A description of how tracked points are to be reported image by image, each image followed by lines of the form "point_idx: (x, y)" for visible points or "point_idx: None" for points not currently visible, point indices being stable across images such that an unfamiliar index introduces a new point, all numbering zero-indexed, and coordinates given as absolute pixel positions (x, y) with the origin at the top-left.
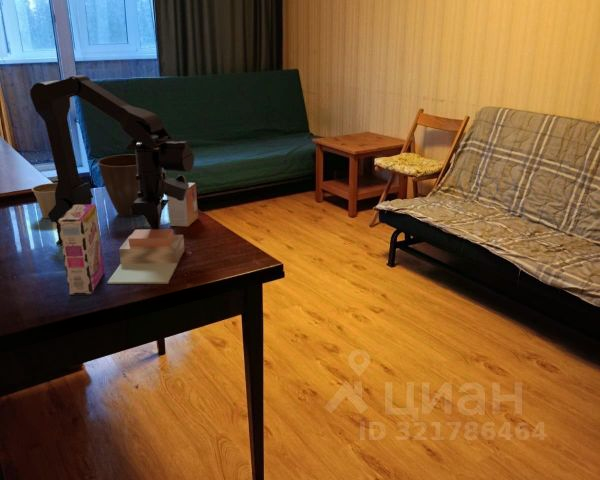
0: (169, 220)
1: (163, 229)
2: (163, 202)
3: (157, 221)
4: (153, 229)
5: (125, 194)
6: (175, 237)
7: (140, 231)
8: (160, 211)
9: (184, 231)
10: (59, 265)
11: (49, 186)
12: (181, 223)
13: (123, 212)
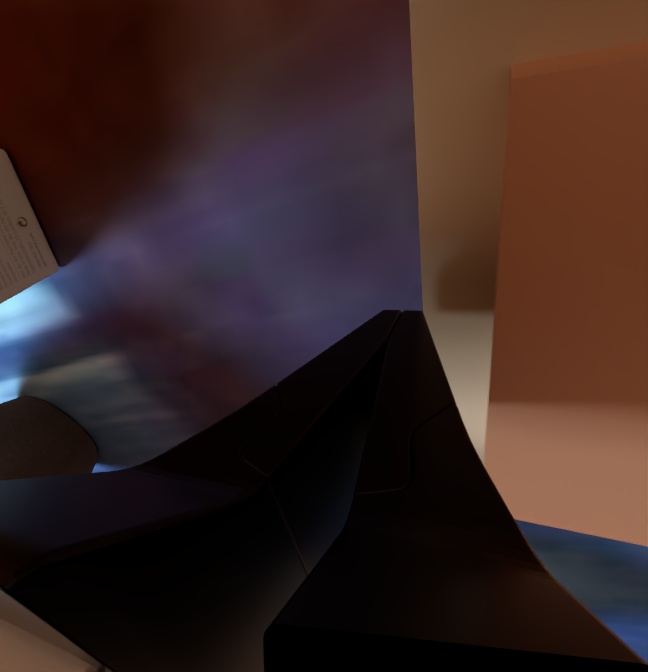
0: (32, 283)
1: (503, 256)
2: (32, 628)
3: (455, 407)
4: (493, 378)
5: None
6: (535, 20)
7: (552, 484)
8: (615, 634)
9: (73, 149)
10: (627, 618)
11: None
12: (10, 203)
13: (85, 464)
